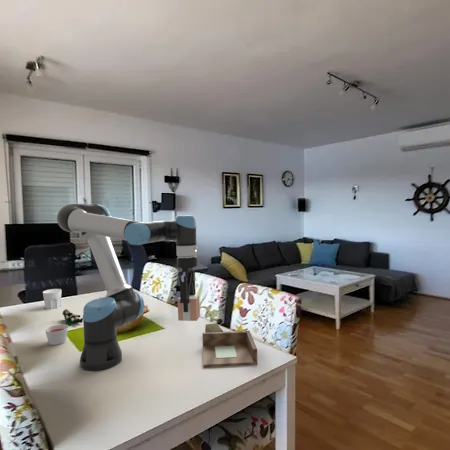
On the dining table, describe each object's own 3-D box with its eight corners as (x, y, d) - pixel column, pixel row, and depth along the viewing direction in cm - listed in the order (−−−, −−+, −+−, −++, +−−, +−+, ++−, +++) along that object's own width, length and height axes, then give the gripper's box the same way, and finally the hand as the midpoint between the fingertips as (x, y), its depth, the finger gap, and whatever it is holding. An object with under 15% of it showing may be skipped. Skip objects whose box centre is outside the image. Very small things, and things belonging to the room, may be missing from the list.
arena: (203, 367, 120) (203, 351, 120) (202, 346, 138) (202, 332, 138) (257, 364, 122) (257, 348, 121) (249, 344, 139) (249, 330, 139)
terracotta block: (178, 320, 122) (177, 298, 121) (182, 316, 127) (181, 295, 126) (196, 320, 121) (195, 298, 120) (199, 316, 126) (198, 295, 125)
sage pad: (216, 358, 125) (216, 357, 125) (214, 347, 135) (214, 346, 135) (237, 357, 125) (237, 356, 125) (234, 346, 135) (234, 345, 135)
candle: (42, 342, 144) (42, 328, 144) (64, 336, 151) (63, 323, 151) (50, 348, 138) (49, 333, 138) (72, 341, 145) (71, 327, 145)
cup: (50, 304, 202) (50, 288, 202) (65, 305, 201) (65, 289, 200) (39, 309, 192) (38, 292, 192) (55, 310, 191) (54, 293, 190)
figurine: (71, 321, 162) (57, 310, 171) (71, 331, 163) (56, 320, 172) (86, 316, 168) (71, 306, 177) (85, 327, 169) (71, 316, 178)
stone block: (211, 343, 141) (211, 332, 141) (204, 334, 152) (204, 323, 152) (224, 341, 143) (224, 330, 143) (216, 332, 154) (216, 322, 154)
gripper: (190, 260, 113) (192, 326, 114) (202, 253, 131) (204, 310, 132) (169, 260, 114) (171, 325, 116) (184, 253, 132) (186, 309, 133)
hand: (188, 317), depth 124 cm, fingers closed on terracotta block, 5 cm apart
